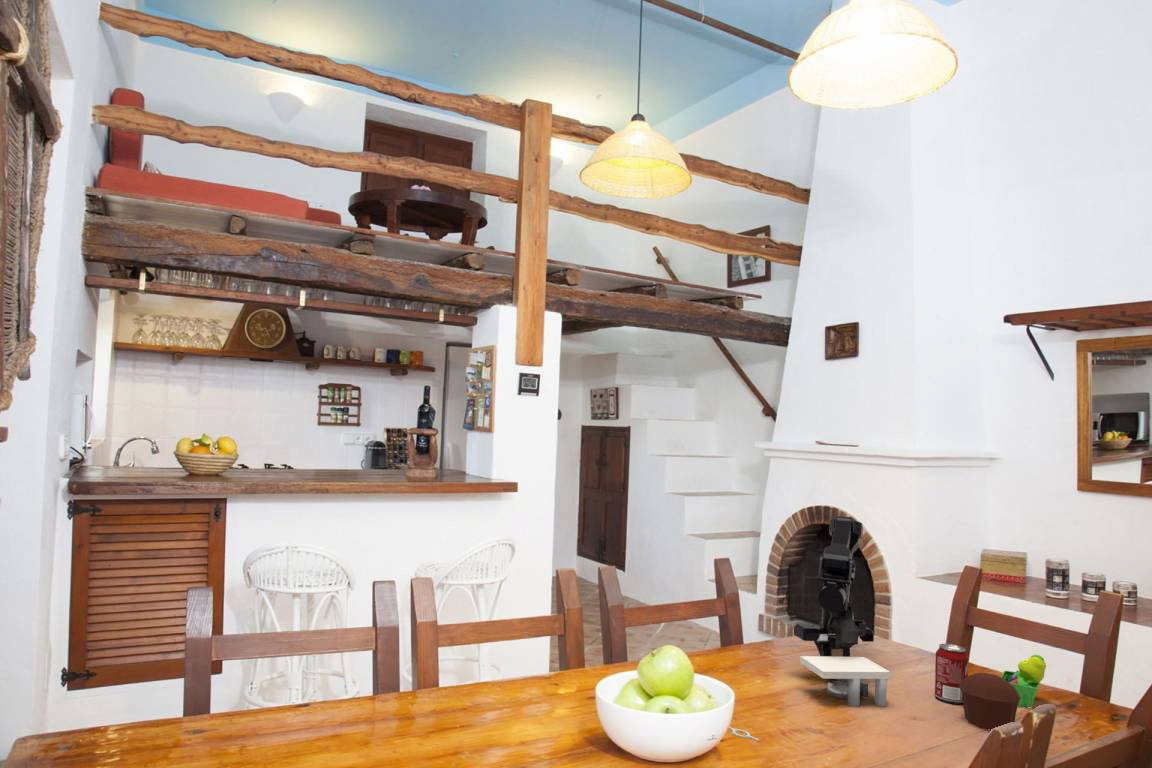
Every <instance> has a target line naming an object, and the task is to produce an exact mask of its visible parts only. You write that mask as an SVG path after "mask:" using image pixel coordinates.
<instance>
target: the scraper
mask: <svg viewBox="0 0 1152 768" xmlns="http://www.w3.org/2000/svg"><path fill="white" fill-rule="evenodd" d="M829 656H831V657H843V649H842V648H840V647H838V646H837V645H835V644H831V645H830V646H829ZM835 681H840V682H843V683H846V684H848V681H849V679H835ZM860 696H861V697H862V698H864V699H867V698H869V683H867V682H866V681H864V679H860Z"/></svg>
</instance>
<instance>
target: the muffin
mask: <svg viewBox="0 0 1152 768" xmlns="http://www.w3.org/2000/svg"><path fill="white" fill-rule="evenodd" d="M1001 677H1002V676H998V675H996V674H993V673H988V672H975V673H972V674H968V676H967V677H966V678H965V679H964V680H963V681H962V683H961V684H960V685H959V688H960V690H961V691H962V698H963V702H962V704H963V713H964V718H966V719H967V720H968V721H967V720H966V719H965V720H966V721H967V722H968V724H970V723H971V724H970V725H972V724H973V725H972V726H976V727H977V728H979V729H982V728H983V730H986V731H987V730H988V729H990V730H988V731H991V729H993V728H995V727H998V726H1001V725H1004V724H1007V723H1010V722H1014V723H1015V720H1016V715H1017V711H1018V707H1019V706H1018V702H1019V701H1020V699H1021V697H1020V695H1019V694H1018V692H1017V690H1016V689H1015V688H1014V686H1012V685H1011V684H1010V683H1009V682H1007V681H1006V680H1005V679H1003V678H1001Z"/></svg>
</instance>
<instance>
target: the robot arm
mask: <svg viewBox="0 0 1152 768" xmlns="http://www.w3.org/2000/svg"><path fill="white" fill-rule="evenodd" d="M863 526H864V525H863V523H862V522H860V521H858V520H855V518H853V517H852V516H844V515H843V516H842V515H837V516H834V517H833V518H831V519H830V520H829V531H828V533H829V536H831V544H830V545H828V546H826V547H824V550H823V553H822V554H821V555H820V558H819V566H818V573H817V581H820V582H823V587H822V589H820V591H819V594H818V597H817V599H818V603H819V610H821V612H822V613H821V619H820V621H818V626H819V627H816V626H814V625H812V624H811V623H796V624H795V625H794V627H793V635H794V636H795V637H797V638H799V639H800V640H802V641H806V642H813V643H814V644H815V646H816V648H817V651H818V654H819V656H829V646H830V645H831V644H835V645H837V646H838V647H840V648H842V649H843V657H851V648H852V647H853V646H856V645H858V644H859V640H861V642H864V643H866V642H868V643H870V642H871V643H872V642H873V643H874V642H875V641H874V640H875V633H874V630H872V628H869V627H868V626H867V623H866V621H864V620H859V619H858V620H856V619H854V617H855V616H854V611H853V608H852V606H851V605H850V603H849V602H850V600H849V599H850V588H851V585H852V582H854V581H855V574H856V563H855V561H854V558H853V554H854V553H855V552H856V551H857V550H858V549H859V547H860V540H863V537H864V536H863V534H864V532H863V531H864V527H863Z"/></svg>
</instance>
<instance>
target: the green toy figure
mask: <svg viewBox="0 0 1152 768" xmlns="http://www.w3.org/2000/svg"><path fill="white" fill-rule="evenodd" d="M1046 664H1047V663H1046V662H1045V658H1044V657H1042V656H1041V655H1039V654H1032V655H1031V656H1030V657H1029V658H1026V659H1024V660H1022V661H1020V662H1018V664H1017V668H1018V670H1016V671H1011V670H1004V671H1003V673H1002V675H1001V676H1000V677H1001V678H1003V679H1005V680H1006V681H1007V682H1009V683H1010V684H1011V685H1012V686H1014V688H1015V689H1016V690H1017V692H1018V694H1019V695H1020V697H1021V699H1020V701H1019V702H1018V707H1023V708H1027V707H1033V704H1034V701H1035V697H1036V695H1037V692H1038V689H1039V686H1040V683H1041V682H1042V681H1043V679H1044V678H1045V672H1046V671H1045V670H1046V668H1047V665H1046Z"/></svg>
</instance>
